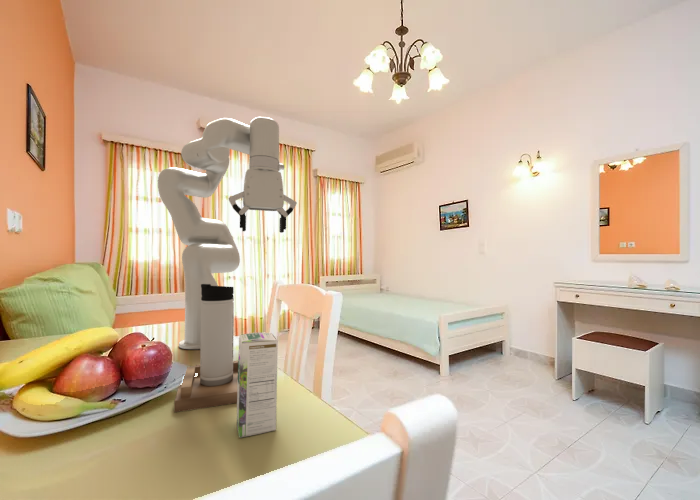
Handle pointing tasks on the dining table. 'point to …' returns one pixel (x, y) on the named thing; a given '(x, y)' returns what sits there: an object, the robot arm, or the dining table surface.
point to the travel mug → (216, 335)
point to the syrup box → (257, 384)
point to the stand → (204, 391)
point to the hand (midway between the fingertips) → (263, 231)
